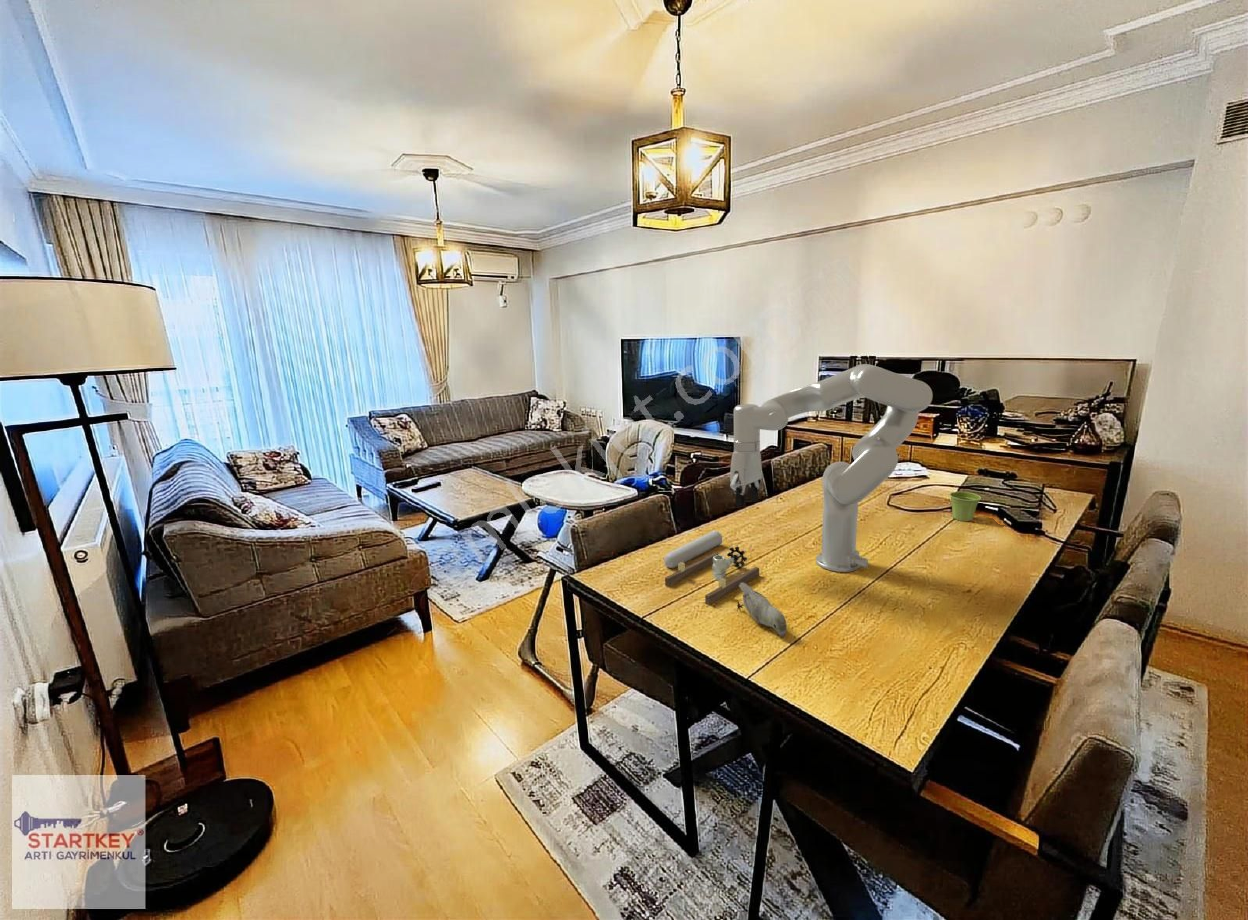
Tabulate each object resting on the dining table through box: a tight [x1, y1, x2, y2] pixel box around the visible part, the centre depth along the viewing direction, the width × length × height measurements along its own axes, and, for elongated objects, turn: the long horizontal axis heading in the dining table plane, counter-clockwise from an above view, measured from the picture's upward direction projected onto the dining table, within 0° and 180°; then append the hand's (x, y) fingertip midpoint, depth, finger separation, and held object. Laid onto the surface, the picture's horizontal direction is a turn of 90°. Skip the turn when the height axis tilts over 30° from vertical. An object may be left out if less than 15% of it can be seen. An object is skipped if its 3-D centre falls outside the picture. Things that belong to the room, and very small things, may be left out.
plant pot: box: [949, 491, 982, 522], centre depth 184 cm, size 9×9×9 cm
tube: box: [663, 529, 723, 569], centre depth 168 cm, size 5×5×25 cm
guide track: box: [664, 552, 760, 606], centre depth 151 cm, size 16×23×5 cm
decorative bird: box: [736, 582, 787, 638], centre depth 128 cm, size 5×16×7 cm, turn 25°
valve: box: [711, 546, 748, 581], centre depth 155 cm, size 7×7×12 cm
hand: (747, 503), depth 157 cm, fingers open, 5 cm apart
